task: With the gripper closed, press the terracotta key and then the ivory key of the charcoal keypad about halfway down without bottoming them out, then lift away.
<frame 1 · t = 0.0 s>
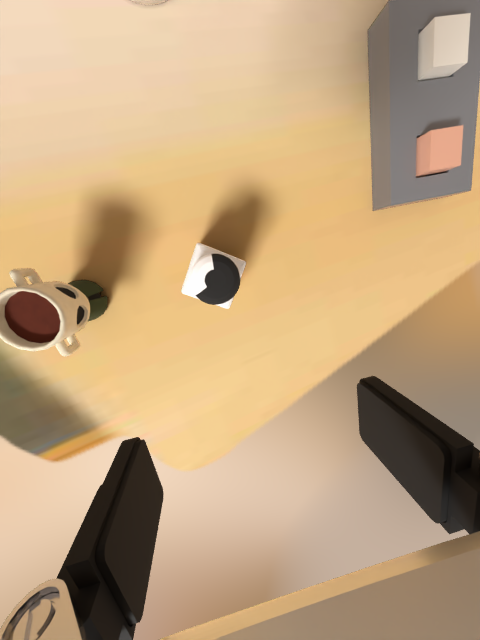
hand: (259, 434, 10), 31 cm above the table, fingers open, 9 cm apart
medicine bottle: (212, 274, 39), on the table
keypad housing: (411, 122, 37), on the table
ivory key: (440, 50, 31), point 5 cm above the table, slide at 0.0 cm
character mug: (88, 299, 37), on the table
terracotta key: (436, 152, 34), point 5 cm above the table, slide at 0.0 cm
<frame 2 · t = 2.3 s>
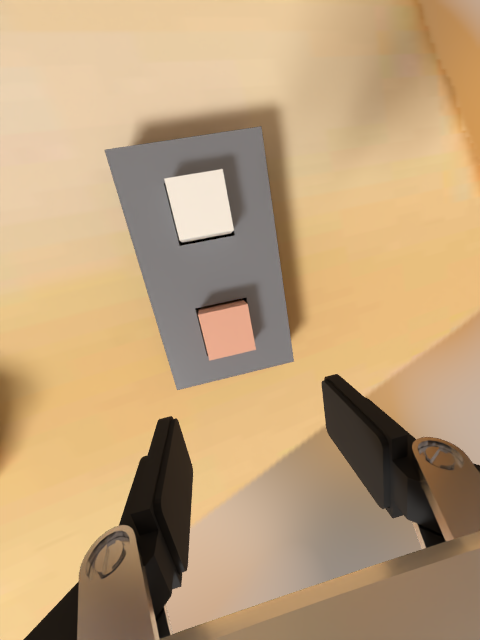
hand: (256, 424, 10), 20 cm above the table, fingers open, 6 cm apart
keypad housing: (213, 271, 28), on the table
ivory key: (200, 209, 22), point 5 cm above the table, slide at 0.0 cm
terracotta key: (226, 328, 25), point 5 cm above the table, slide at 0.0 cm
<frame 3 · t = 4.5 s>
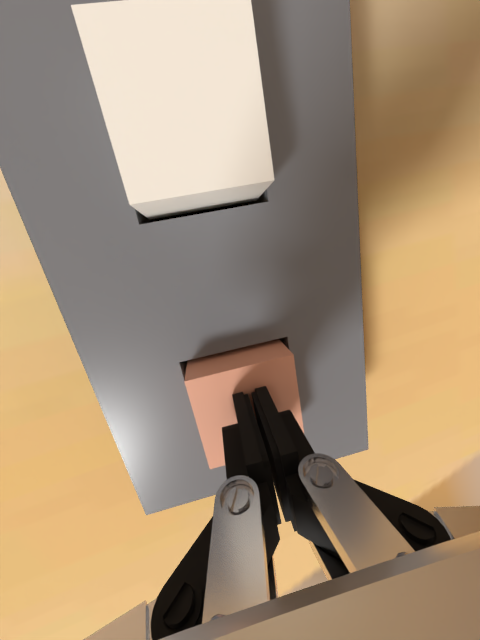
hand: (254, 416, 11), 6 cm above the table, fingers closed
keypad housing: (216, 279, 15), on the table
ivory key: (188, 129, 9), point 4 cm above the table, slide at 0.0 cm
terracotta key: (244, 396, 12), point 4 cm above the table, slide at 0.5 cm, touching gripper
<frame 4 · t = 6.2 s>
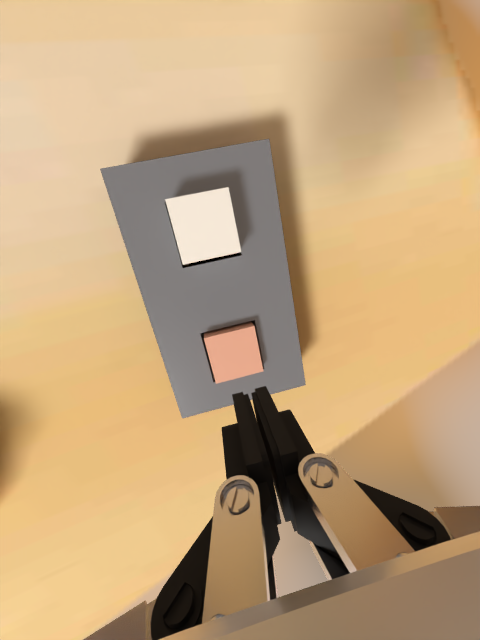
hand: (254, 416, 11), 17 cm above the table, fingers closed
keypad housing: (218, 290, 26), on the table
ivory key: (205, 229, 20), point 4 cm above the table, slide at 0.0 cm
terracotta key: (233, 349, 24), point 3 cm above the table, slide at 1.1 cm
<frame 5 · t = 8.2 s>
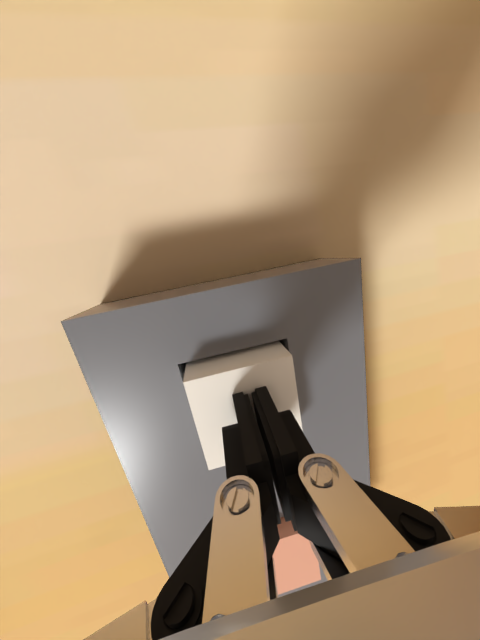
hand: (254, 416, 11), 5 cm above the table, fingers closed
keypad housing: (249, 435, 18), on the table
ivory key: (243, 397, 12), point 4 cm above the table, slide at 0.7 cm, touching gripper
terracotta key: (273, 540, 16), point 3 cm above the table, slide at 1.1 cm
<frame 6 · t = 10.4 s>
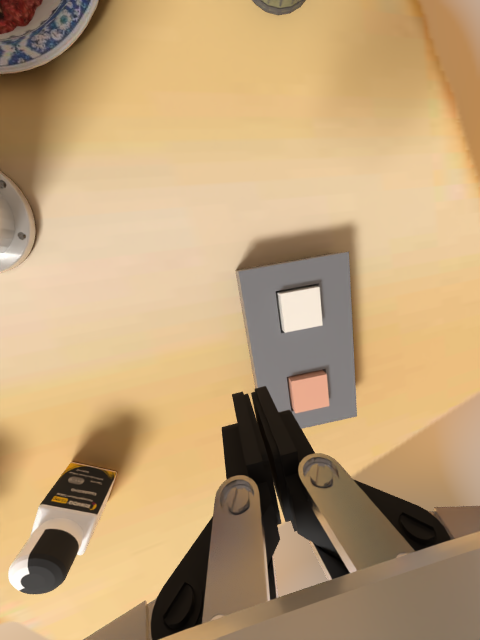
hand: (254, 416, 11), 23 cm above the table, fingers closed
medicine bottle: (90, 482, 38), on the table
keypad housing: (294, 342, 35), on the table
ivory key: (297, 307, 31), point 3 cm above the table, slide at 1.1 cm
terracotta key: (306, 388, 33), point 3 cm above the table, slide at 1.1 cm
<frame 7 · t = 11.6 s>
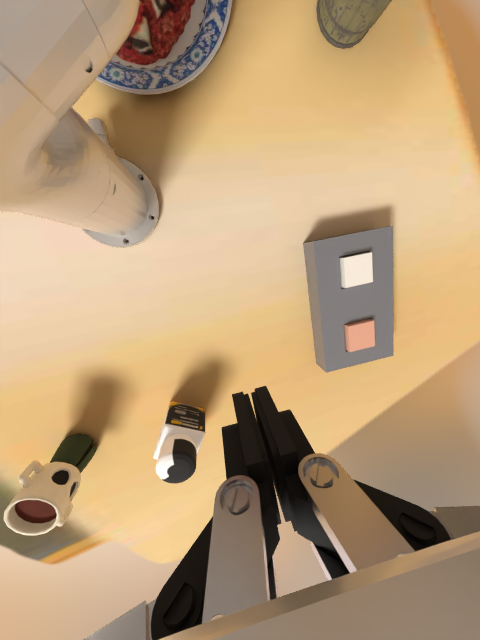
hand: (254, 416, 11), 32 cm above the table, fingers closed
medicine bottle: (183, 418, 47), on the table
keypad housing: (344, 300, 45), on the table
ivory key: (353, 269, 40), point 3 cm above the table, slide at 1.1 cm
character mug: (80, 445, 45), on the table
terracotta key: (356, 334, 44), point 3 cm above the table, slide at 1.1 cm
thermos: (343, 11, 34), on the table
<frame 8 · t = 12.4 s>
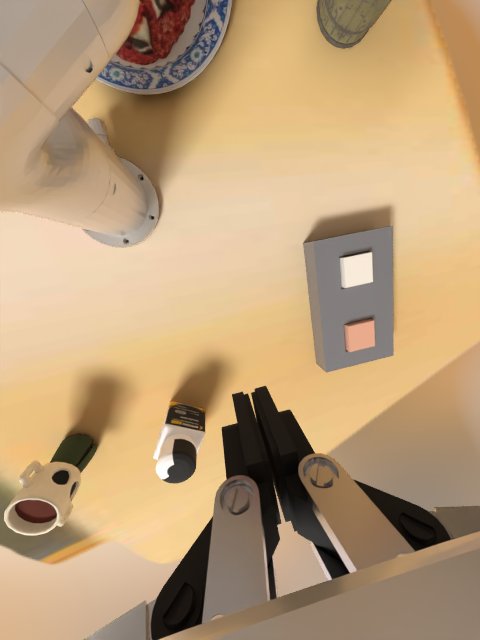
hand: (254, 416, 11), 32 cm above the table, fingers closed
medicine bottle: (183, 418, 47), on the table
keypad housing: (344, 300, 45), on the table
ivory key: (353, 269, 40), point 3 cm above the table, slide at 1.1 cm
character mug: (80, 445, 45), on the table
terracotta key: (356, 333, 44), point 3 cm above the table, slide at 1.1 cm
thermos: (343, 11, 34), on the table
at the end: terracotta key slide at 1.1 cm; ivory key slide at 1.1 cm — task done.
